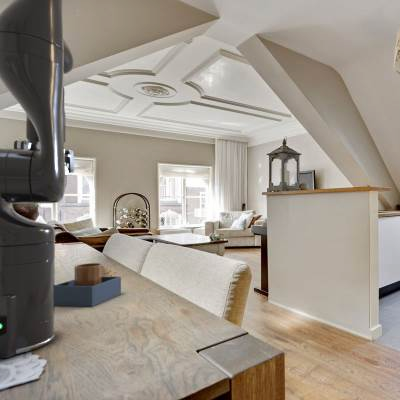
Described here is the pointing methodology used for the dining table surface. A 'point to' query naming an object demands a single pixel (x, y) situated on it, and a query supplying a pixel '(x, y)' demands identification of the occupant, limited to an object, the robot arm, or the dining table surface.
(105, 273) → the seashell
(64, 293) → the bin
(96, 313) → the dining table surface
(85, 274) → the brown cup
